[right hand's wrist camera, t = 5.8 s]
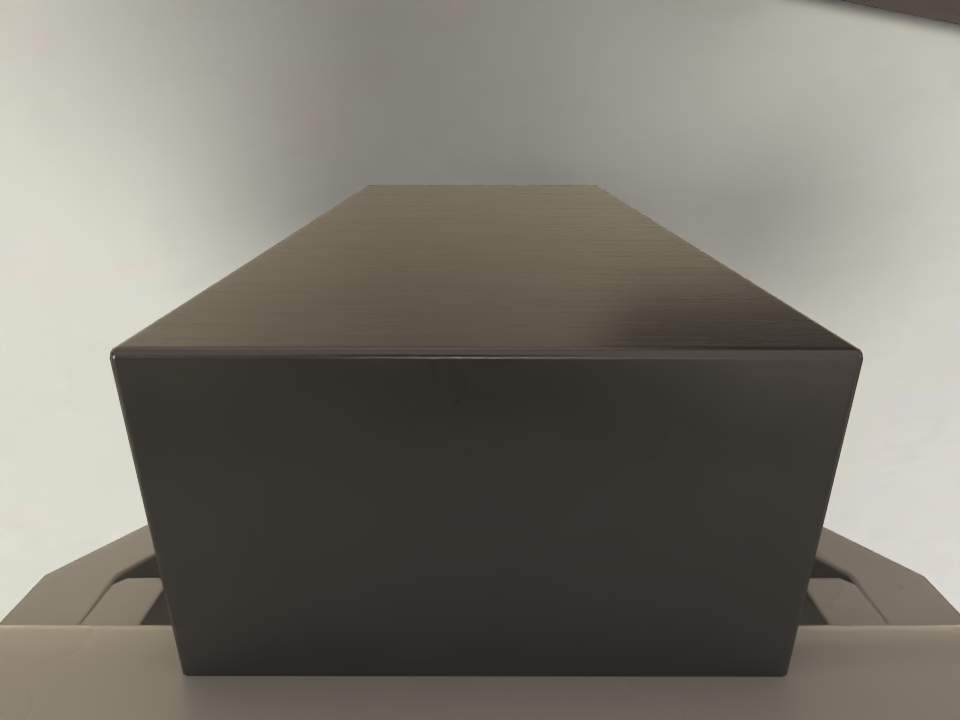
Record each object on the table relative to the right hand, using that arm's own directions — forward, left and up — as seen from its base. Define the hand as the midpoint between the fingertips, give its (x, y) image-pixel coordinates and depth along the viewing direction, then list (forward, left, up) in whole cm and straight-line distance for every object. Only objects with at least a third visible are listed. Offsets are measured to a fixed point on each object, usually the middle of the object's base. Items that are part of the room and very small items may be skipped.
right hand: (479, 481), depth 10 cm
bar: (+8, 0, -4) cm, 9 cm away
